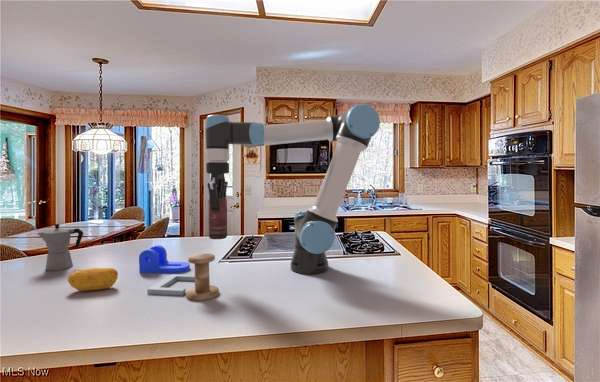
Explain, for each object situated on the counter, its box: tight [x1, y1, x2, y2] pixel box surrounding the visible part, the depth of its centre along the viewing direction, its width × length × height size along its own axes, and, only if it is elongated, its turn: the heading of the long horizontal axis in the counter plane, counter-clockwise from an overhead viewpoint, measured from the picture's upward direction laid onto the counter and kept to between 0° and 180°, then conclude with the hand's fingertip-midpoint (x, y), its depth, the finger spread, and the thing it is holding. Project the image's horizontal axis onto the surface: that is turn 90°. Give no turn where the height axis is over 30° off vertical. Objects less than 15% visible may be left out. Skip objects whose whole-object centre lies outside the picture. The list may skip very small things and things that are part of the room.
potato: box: [67, 267, 119, 291], centre depth 109 cm, size 7×14×7 cm, turn 98°
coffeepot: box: [36, 223, 84, 272], centre depth 133 cm, size 15×9×18 cm, turn 113°
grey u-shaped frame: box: [146, 273, 195, 296], centre depth 111 cm, size 12×15×2 cm
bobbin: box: [185, 253, 220, 302], centre depth 104 cm, size 10×10×12 cm
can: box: [207, 196, 228, 240], centre depth 112 cm, size 6×6×14 cm
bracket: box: [138, 244, 191, 274], centre depth 130 cm, size 18×8×9 cm, turn 86°
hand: (218, 230), depth 112 cm, fingers closed
